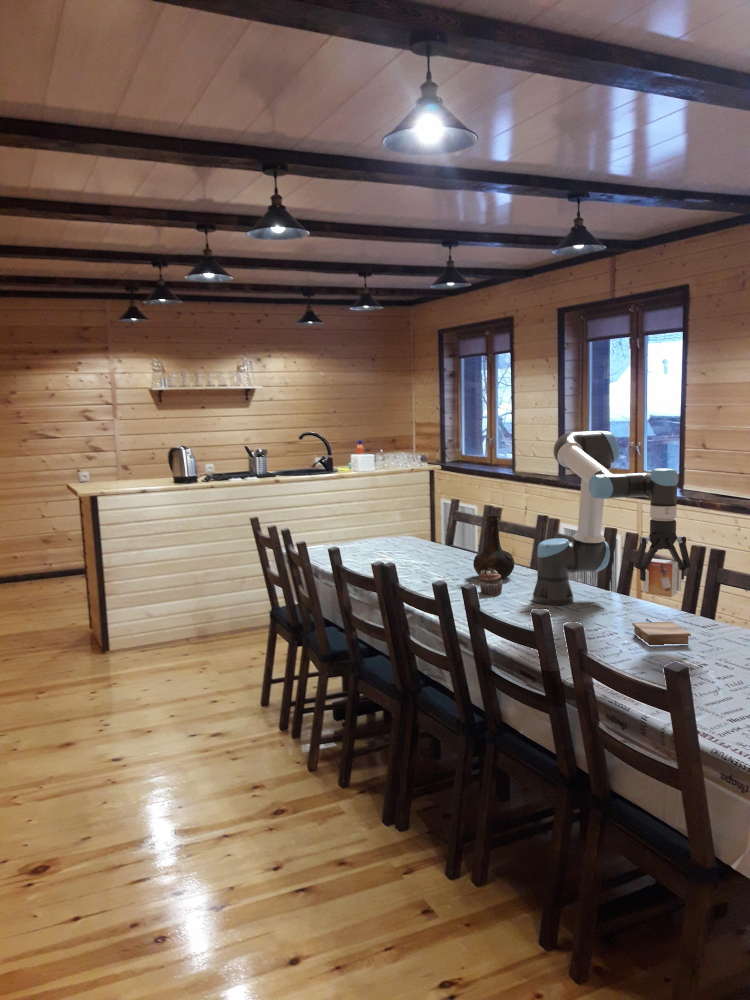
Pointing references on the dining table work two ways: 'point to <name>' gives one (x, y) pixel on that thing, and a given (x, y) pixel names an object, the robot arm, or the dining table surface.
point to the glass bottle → (494, 552)
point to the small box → (663, 577)
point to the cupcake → (490, 582)
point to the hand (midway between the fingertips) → (661, 590)
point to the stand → (661, 633)
